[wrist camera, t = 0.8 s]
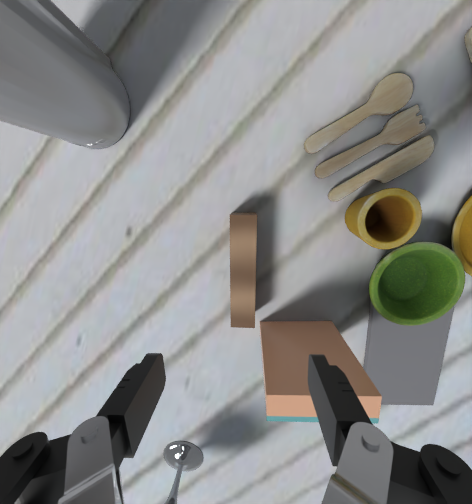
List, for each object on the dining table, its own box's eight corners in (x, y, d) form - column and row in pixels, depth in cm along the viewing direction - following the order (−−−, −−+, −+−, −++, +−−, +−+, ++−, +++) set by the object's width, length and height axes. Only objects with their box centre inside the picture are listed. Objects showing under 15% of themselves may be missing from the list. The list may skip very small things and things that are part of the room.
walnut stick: (232, 212, 28) (229, 214, 24) (255, 212, 28) (257, 214, 24) (233, 311, 31) (230, 327, 28) (253, 311, 31) (254, 327, 27)
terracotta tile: (259, 321, 31) (266, 394, 20) (331, 320, 31) (381, 396, 19) (260, 339, 32) (266, 421, 20) (330, 339, 31) (378, 423, 20)
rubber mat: (372, 290, 29) (375, 293, 28) (451, 289, 28) (457, 291, 28) (359, 399, 33) (362, 404, 33) (428, 400, 33) (433, 405, 32)
